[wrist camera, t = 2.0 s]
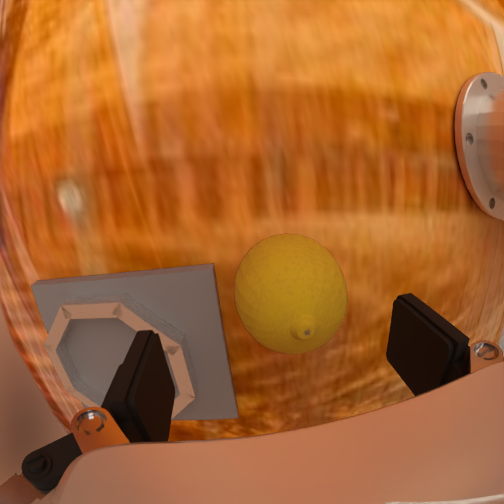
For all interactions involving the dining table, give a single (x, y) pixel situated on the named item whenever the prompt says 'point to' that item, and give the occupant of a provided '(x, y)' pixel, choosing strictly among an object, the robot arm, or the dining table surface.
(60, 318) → the ring
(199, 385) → the board
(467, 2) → the dining table surface
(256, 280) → the lemon
